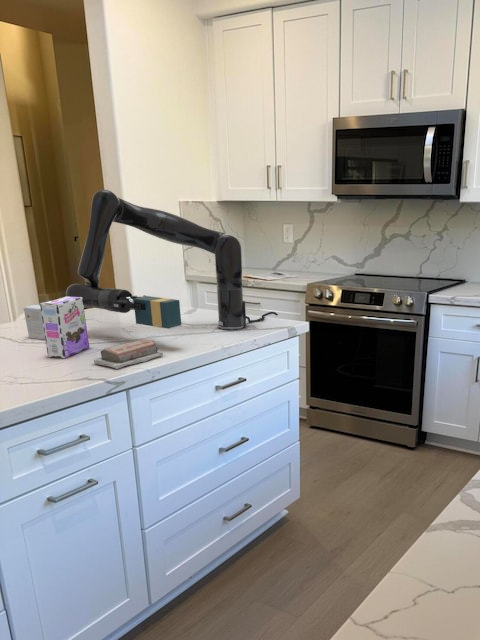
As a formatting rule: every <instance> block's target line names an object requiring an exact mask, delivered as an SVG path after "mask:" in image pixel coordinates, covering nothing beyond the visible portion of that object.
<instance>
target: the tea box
mask: <svg viewBox="0 0 480 640" xmlns="http://www.w3.org/2000/svg"><path fill="white" fill-rule="evenodd" d="M133 300H134V301H135V302H140V303H144V304H145V310H137V309H135V310H134V316H135V317H134V318H135V324H136V325H144V326H149V327H154V328H160V329H167V330H168V329H172V328H177V327H180V326H182V318H181V317H182V314H181V305H180V299H175V298H168V297H159V296H151V295H145V297H140V298H134V299H133Z"/></svg>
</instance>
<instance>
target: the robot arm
mask: <svg viewBox="0 0 480 640" xmlns="http://www.w3.org/2000/svg"><path fill="white" fill-rule="evenodd" d="M90 206H91V207H90V219H89V225H88V231H87V236H86V238H85V242H84V245H83V249H82V253H81V257H80V261H79V264H78V267H77V275H78V276H79V277H81V278H82V279H84V282H85V283H84V284H81V283H72V284H70V285H69V286H68V287H67V288H66V291H65V297H82V298H83V305H84V308H87V309H88V308H89V309H92V308H96V309H100V310H106V311H108V312H114V313H121V314H127V313H129V312H130V311H135V309H137V310H145V304H144V303H140V302H135V301H134V300H133V299H134V298H140V297H145V296H146V295H144V294H143V295H142V296H140V295H139V296H138V295H137V294H136V295H134V294H132V293H131V292H130V291H129V290H127V289H121V288H114V287H107V288H106V287H100V275H101V272H102V268H103V264H104V259H105V253H106V246H107V241H108V236H109V232H110V229H111V226H112V225H113V223H117V224H121V225H125V226H129V227H132V228H135V229H137V230H140V231H141V232H144V233H146V234H148V235H150V236H152V237H156V238H158V239H159V240H160V239H161V240H162V241H163V240H164V241H167V242H168V243H169V242H170V243H173V244H176V245H181V246H185V247H192V248H197V249H200V250H203V251H206V252H208V253H211V254H213V255H214V260H215V279H216V296H217V315H218V321H217V323H218V328H219V329H221V330H226V331H227V330H228V331H231V330H232V331H234V330H240V329H244V328H247V322H248V323H258V322H261V321H264V320H265V317H266V316H270V315H275V316H279V313H277V312H276V311H269V312H266V313H264V314H262V315H261V317H260V318H257V319H251V317H249V316H247V314H246V301H245V300H244V292H243V262H242V261H243V260H242V259H243V258H242V256H243V255H242V245H241V243H240V241H239V238H237V237H236V236H235V235H233V234H231V233H226V232H222V231H217V230H214V229H209V228H207V227H203V226H201V225H199V224H198V223H195V222H193V221H191V220H189V219H186V218H185V217H181V216H179V215H176V214H173V213H171V212H168V211H164V210H160V209H156V208H152V207H151V208H150V207H145V206H140V205H137V204H135V203H131V202H129V201H127V200H124V199H123V198H120V197H119V196H117V194H115V192H113V191H112V190H109V189H99V190H97V191H96V192H95V193H94V194H93V196H92V199H91V205H90Z"/></svg>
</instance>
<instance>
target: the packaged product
mask: <svg viewBox="0 0 480 640" xmlns="http://www.w3.org/2000/svg"><path fill="white" fill-rule="evenodd" d="M163 355H164V352H161V351H159V348H158V346H157V344H156V342H155V341H154V340H149V339H139V340H134V341H130V342H126V343H122V344H118V345H114V346H109V347H105V348H102V349H101V350H100V356H101V357H97V358H94V359H93V363H94V365H99V366H104V367H108V368H113V369H116V370H119V369H122V368H124V367H127V366H131V365H135V364H138V363H144V362H148V361H150V360H153V359H157V358H160V357H162V356H163Z"/></svg>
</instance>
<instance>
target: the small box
mask: <svg viewBox="0 0 480 640" xmlns="http://www.w3.org/2000/svg"><path fill="white" fill-rule="evenodd" d="M23 311H24V318H25V324H26V328H27V333H28V338H31V339H38V340H45V334H44V327H43V320H42V314H41V307H40V304H33V305H27V306H23ZM45 341H46V340H45Z"/></svg>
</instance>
